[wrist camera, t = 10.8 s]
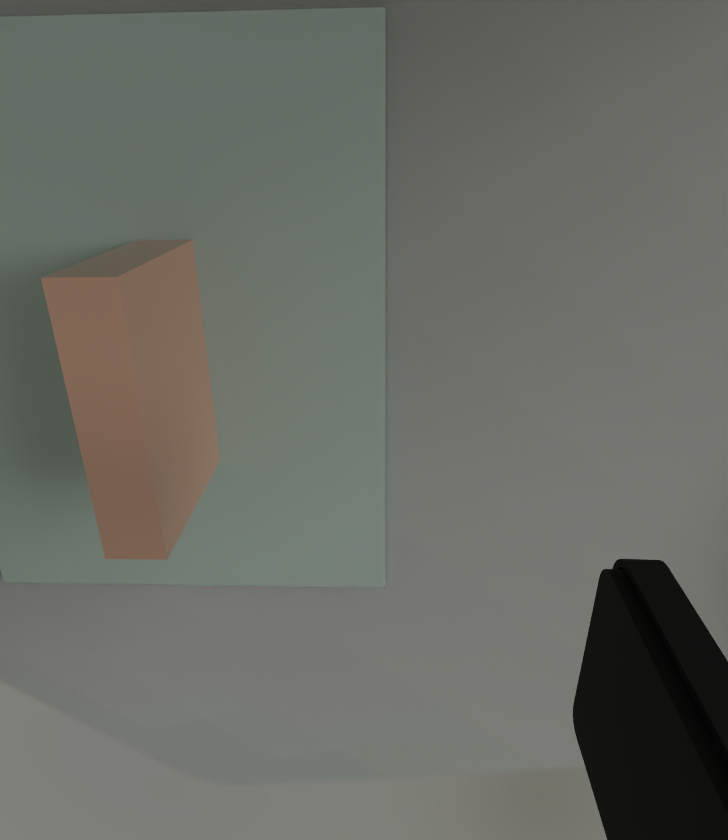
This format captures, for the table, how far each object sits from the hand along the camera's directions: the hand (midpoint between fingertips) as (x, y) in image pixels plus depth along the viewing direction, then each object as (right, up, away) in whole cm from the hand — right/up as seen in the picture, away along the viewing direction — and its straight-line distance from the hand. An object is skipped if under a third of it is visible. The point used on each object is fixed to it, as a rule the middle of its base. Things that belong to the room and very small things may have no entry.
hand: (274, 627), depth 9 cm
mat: (-6, +6, +13) cm, 15 cm away
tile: (-5, +5, +12) cm, 14 cm away
